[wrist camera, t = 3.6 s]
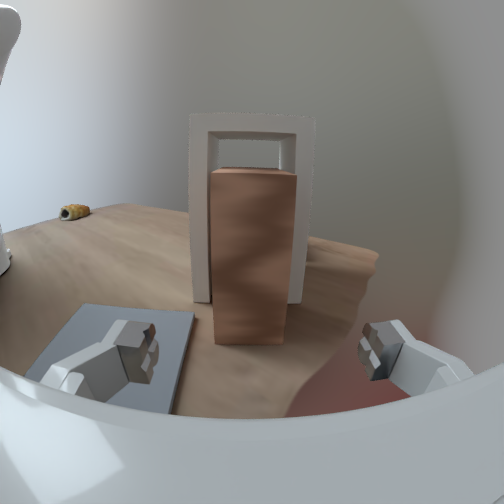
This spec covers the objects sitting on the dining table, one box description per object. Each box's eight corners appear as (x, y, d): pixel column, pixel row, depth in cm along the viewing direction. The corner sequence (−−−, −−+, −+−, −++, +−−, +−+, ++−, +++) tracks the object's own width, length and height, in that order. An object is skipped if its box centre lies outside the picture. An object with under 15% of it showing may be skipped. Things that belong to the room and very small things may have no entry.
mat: (24, 384, 12) (21, 378, 11) (85, 307, 22) (84, 303, 22) (168, 422, 12) (166, 417, 12) (194, 316, 22) (194, 311, 22)
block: (214, 344, 19) (210, 172, 15) (223, 284, 29) (223, 166, 25) (282, 344, 19) (297, 175, 15) (270, 285, 29) (276, 168, 25)
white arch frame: (193, 302, 25) (189, 113, 19) (206, 262, 34) (206, 127, 29) (300, 303, 25) (315, 118, 20) (285, 263, 34) (293, 129, 29)
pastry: (80, 213, 65) (78, 200, 64) (96, 213, 64) (94, 200, 63) (57, 221, 57) (55, 207, 55) (73, 222, 56) (71, 206, 54)
